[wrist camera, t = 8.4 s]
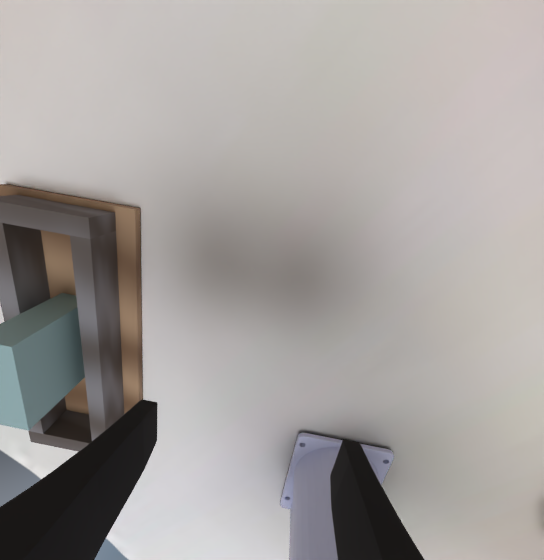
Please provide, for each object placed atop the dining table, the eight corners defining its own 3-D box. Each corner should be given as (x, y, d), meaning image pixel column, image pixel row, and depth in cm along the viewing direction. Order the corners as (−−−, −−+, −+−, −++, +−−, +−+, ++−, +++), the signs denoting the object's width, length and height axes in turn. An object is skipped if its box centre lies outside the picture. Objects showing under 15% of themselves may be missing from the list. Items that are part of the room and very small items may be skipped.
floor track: (143, 431, 25) (123, 463, 23) (47, 412, 26) (16, 442, 23) (140, 208, 18) (110, 214, 15) (6, 184, 18) (-47, 186, 15)
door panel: (96, 365, 22) (28, 430, 17) (69, 360, 22) (-7, 423, 17) (91, 298, 20) (11, 347, 14) (62, 292, 20) (-29, 338, 15)
